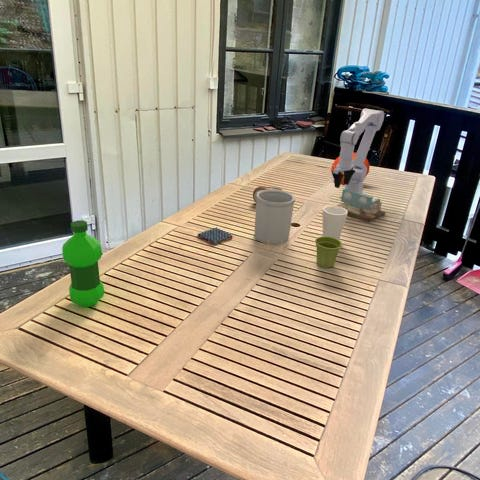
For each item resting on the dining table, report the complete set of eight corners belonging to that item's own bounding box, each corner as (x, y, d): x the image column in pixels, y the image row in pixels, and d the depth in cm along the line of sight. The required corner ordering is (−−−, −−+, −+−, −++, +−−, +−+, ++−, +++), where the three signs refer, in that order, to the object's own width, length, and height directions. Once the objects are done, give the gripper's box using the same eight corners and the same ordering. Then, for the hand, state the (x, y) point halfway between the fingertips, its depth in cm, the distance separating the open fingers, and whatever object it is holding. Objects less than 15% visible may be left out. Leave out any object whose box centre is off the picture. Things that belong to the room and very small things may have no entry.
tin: (284, 204, 209) (285, 187, 205) (284, 207, 206) (285, 190, 202) (252, 202, 210) (253, 185, 206) (251, 204, 207) (253, 187, 203)
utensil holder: (298, 237, 176) (302, 196, 168) (274, 249, 166) (278, 205, 158) (269, 226, 185) (273, 186, 177) (245, 236, 175) (248, 194, 167)
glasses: (352, 196, 212) (354, 184, 209) (379, 205, 203) (381, 192, 201) (340, 201, 205) (342, 189, 202) (367, 210, 196) (370, 197, 194)
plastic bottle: (86, 316, 122) (76, 235, 112) (61, 303, 127) (49, 224, 116) (113, 300, 130) (107, 222, 119) (89, 288, 135) (80, 213, 124)
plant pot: (340, 260, 160) (343, 239, 156) (336, 272, 152) (340, 250, 148) (314, 255, 163) (317, 234, 159) (309, 267, 155) (312, 245, 151)
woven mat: (195, 238, 172) (195, 233, 172) (215, 230, 179) (216, 226, 178) (213, 247, 166) (213, 242, 165) (233, 239, 173) (233, 234, 172)
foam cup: (344, 238, 178) (350, 208, 172) (339, 247, 170) (344, 216, 164) (322, 233, 181) (326, 204, 175) (315, 242, 173) (320, 211, 168)
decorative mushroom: (334, 174, 257) (337, 149, 250) (369, 181, 249) (374, 155, 242) (326, 181, 245) (329, 154, 239) (363, 188, 237) (368, 161, 230)
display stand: (349, 203, 215) (351, 191, 212) (384, 215, 203) (387, 202, 201) (332, 209, 206) (334, 197, 203) (369, 222, 194) (371, 210, 192)
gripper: (347, 153, 208) (342, 180, 214) (329, 157, 199) (325, 186, 205) (360, 156, 204) (355, 184, 210) (343, 161, 195) (338, 190, 200)
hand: (341, 185), depth 207 cm, fingers open, 7 cm apart
